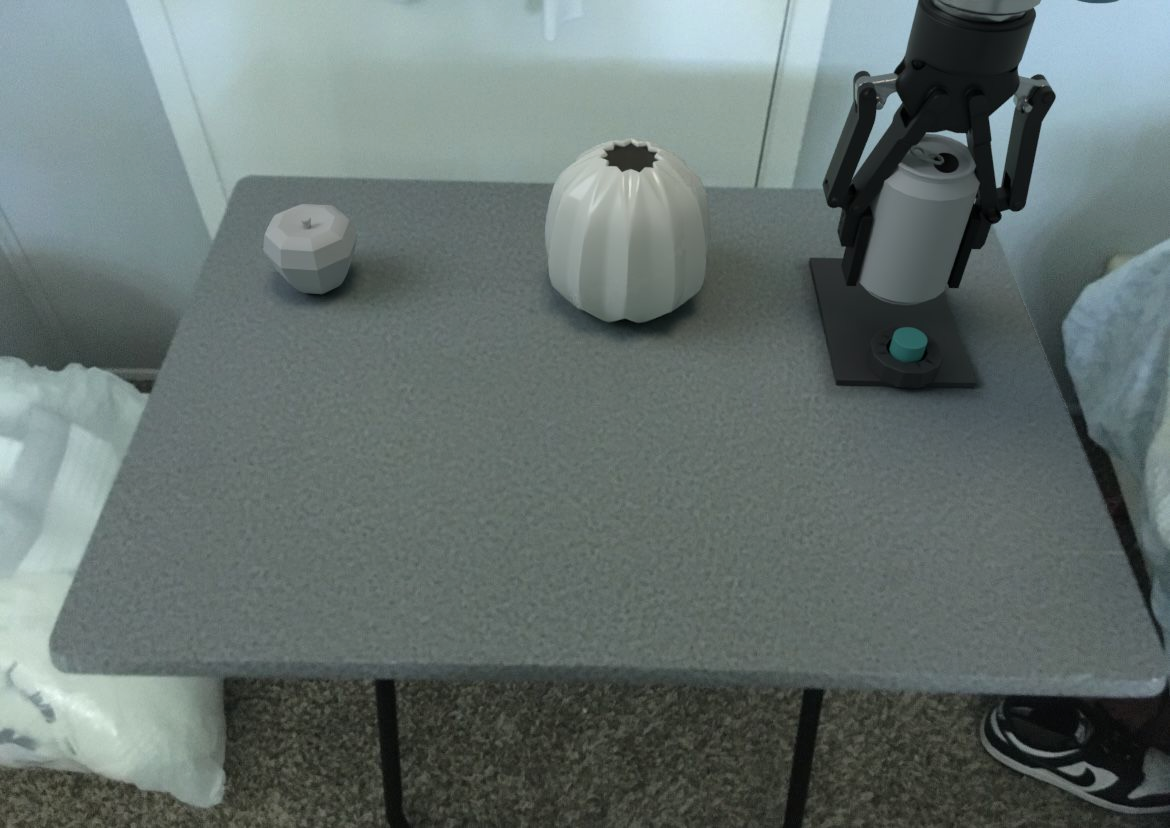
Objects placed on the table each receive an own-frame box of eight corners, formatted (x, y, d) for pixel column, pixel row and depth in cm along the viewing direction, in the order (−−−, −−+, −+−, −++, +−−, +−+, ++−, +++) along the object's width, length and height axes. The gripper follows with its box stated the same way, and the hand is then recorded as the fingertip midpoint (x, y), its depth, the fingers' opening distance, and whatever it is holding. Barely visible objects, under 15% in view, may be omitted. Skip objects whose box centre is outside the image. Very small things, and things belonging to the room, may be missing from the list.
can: (940, 320, 81) (984, 188, 72) (844, 300, 82) (876, 168, 74) (948, 265, 86) (990, 136, 77) (857, 247, 87) (889, 119, 79)
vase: (549, 243, 94) (547, 108, 85) (701, 247, 94) (716, 113, 84) (539, 342, 84) (535, 202, 75) (709, 347, 84) (727, 208, 75)
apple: (268, 263, 92) (252, 199, 87) (357, 247, 93) (346, 184, 89) (278, 318, 86) (261, 254, 82) (372, 300, 88) (361, 237, 83)
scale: (977, 394, 81) (985, 374, 79) (837, 391, 81) (842, 371, 79) (931, 265, 93) (937, 245, 91) (808, 262, 93) (812, 242, 91)
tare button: (926, 364, 80) (930, 349, 79) (892, 363, 80) (897, 348, 79) (919, 341, 82) (923, 327, 81) (886, 341, 82) (890, 326, 81)
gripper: (1115, -23, 70) (1012, 251, 86) (815, -29, 70) (768, 246, 86) (1156, 26, 65) (1038, 309, 81) (831, 19, 65) (778, 303, 81)
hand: (899, 276), depth 84 cm, fingers closed on can, 7 cm apart
